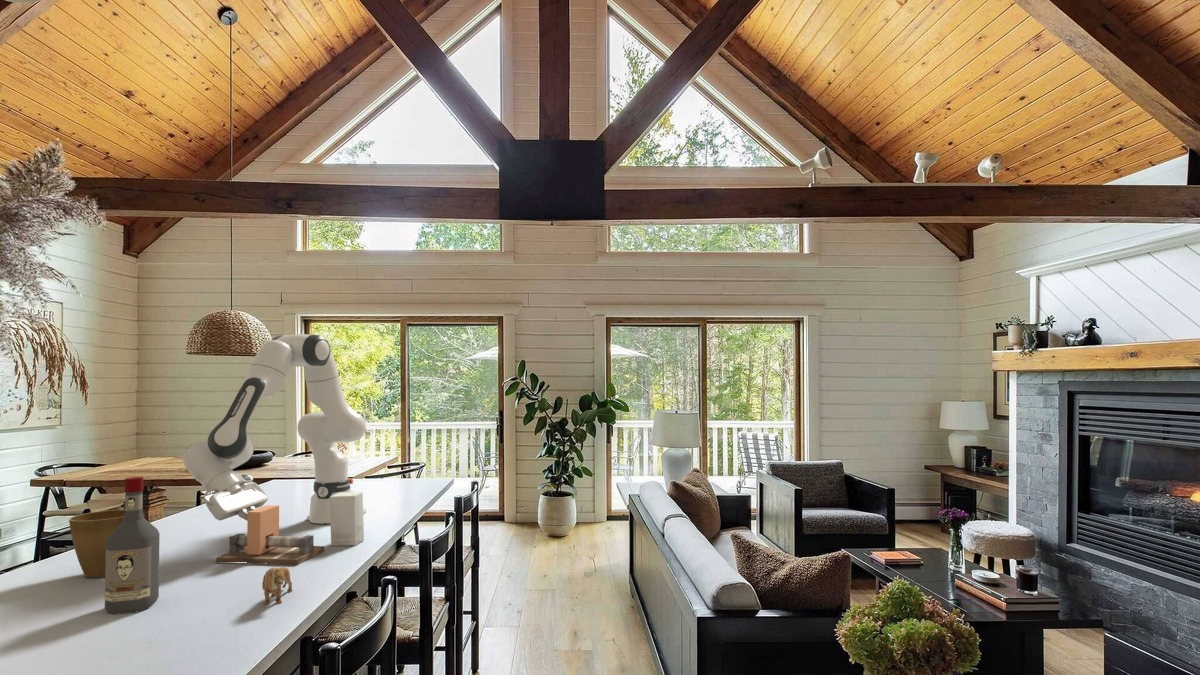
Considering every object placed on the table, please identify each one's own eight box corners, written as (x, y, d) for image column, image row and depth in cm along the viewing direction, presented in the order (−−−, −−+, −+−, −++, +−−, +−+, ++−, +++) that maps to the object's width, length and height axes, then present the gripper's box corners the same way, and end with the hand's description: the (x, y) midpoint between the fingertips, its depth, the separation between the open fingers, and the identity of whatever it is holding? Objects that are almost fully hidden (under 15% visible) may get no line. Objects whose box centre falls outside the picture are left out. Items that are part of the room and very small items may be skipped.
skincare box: (364, 540, 213) (364, 491, 214) (354, 546, 206) (354, 495, 207) (339, 540, 214) (339, 491, 214) (328, 546, 207) (329, 495, 208)
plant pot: (142, 572, 182) (143, 513, 183) (73, 586, 171) (74, 523, 172) (128, 562, 192) (129, 506, 193) (63, 574, 182) (64, 515, 182)
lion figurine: (284, 608, 154) (284, 569, 155) (259, 611, 153) (259, 571, 153) (294, 588, 169) (294, 552, 169) (271, 590, 167) (271, 554, 167)
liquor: (117, 602, 160) (119, 476, 161) (161, 598, 162) (163, 473, 163) (100, 616, 151) (103, 482, 152) (147, 611, 153) (149, 480, 155)
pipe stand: (247, 549, 205) (247, 529, 205) (324, 551, 201) (324, 531, 202) (215, 562, 191) (216, 541, 191) (297, 565, 188) (297, 543, 188)
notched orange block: (266, 545, 201) (266, 505, 202) (278, 546, 201) (279, 505, 201) (247, 554, 192) (247, 512, 193) (260, 554, 192) (260, 512, 192)
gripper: (207, 486, 188) (239, 522, 187) (254, 474, 209) (282, 506, 207) (192, 502, 189) (224, 537, 187) (240, 488, 209) (269, 520, 207)
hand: (255, 521), depth 197 cm, fingers closed, pressing on notched orange block
